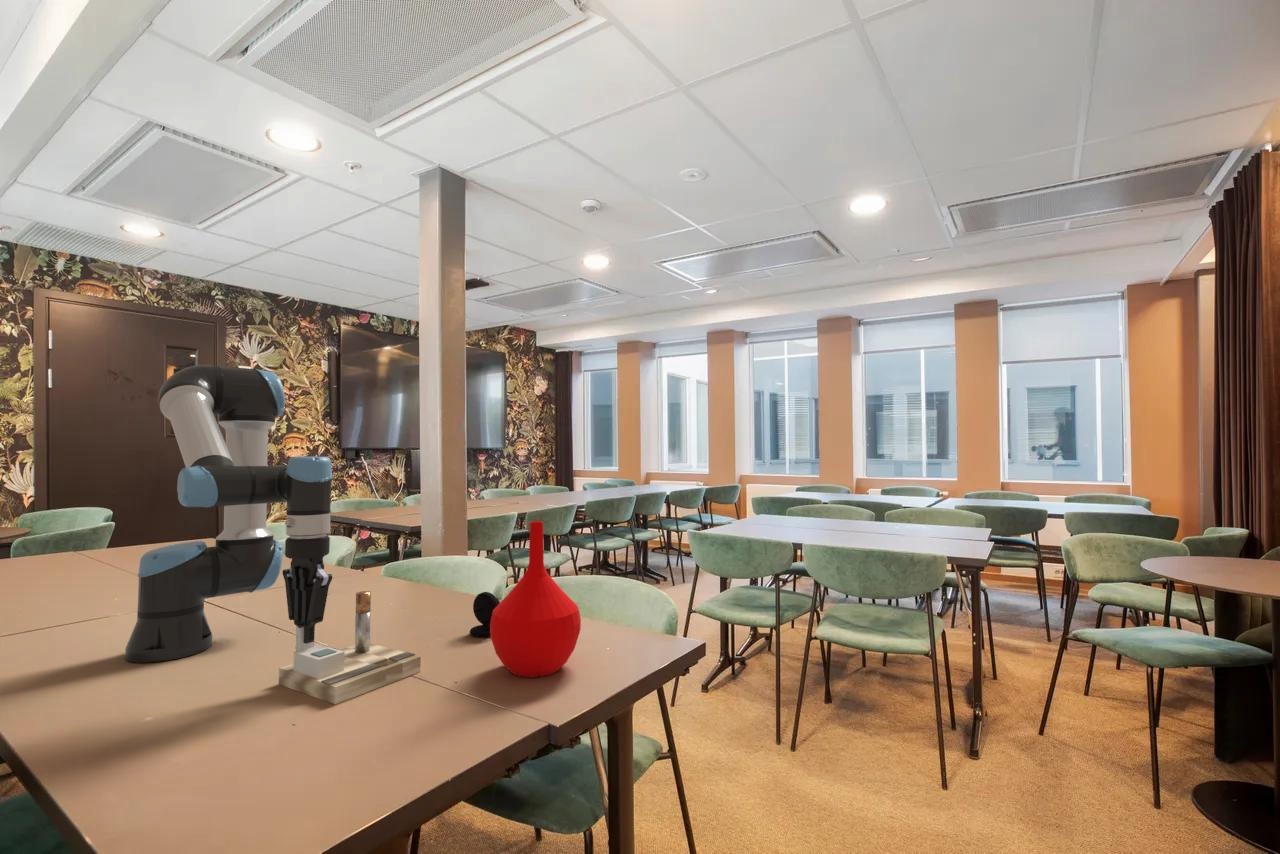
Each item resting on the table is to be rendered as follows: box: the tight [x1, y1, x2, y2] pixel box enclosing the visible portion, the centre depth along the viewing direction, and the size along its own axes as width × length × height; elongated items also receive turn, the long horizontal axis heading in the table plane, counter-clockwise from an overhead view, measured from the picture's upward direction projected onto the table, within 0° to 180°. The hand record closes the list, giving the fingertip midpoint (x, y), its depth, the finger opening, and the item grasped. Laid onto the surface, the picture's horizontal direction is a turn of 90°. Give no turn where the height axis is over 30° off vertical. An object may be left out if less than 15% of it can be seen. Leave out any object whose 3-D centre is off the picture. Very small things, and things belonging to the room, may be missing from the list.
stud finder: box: [293, 644, 344, 679], centre depth 111 cm, size 8×5×4 cm, turn 59°
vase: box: [489, 520, 582, 678], centre depth 121 cm, size 18×18×30 cm
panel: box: [278, 642, 422, 705], centre depth 115 cm, size 18×18×3 cm
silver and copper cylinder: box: [354, 590, 372, 653], centre depth 122 cm, size 3×3×12 cm
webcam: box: [469, 591, 501, 639], centre depth 144 cm, size 8×8×10 cm
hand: (304, 658), depth 113 cm, fingers closed
